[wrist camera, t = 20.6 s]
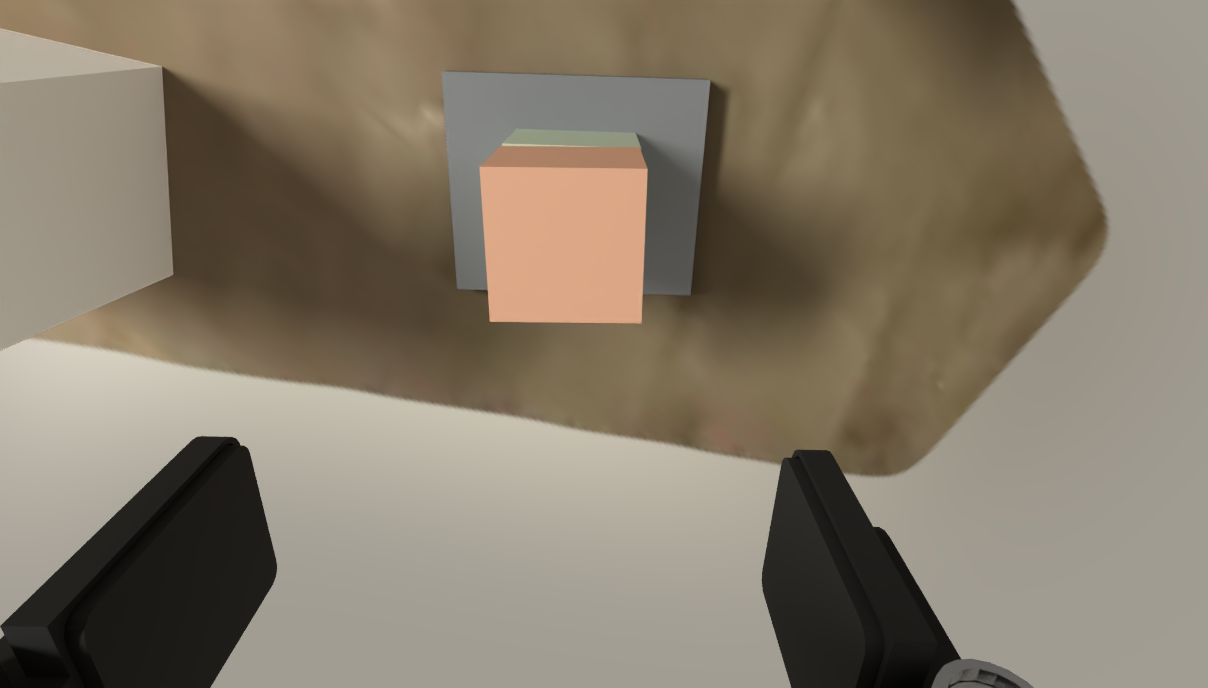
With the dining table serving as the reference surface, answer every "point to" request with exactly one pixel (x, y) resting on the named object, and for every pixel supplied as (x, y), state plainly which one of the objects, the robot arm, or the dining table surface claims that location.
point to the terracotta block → (564, 233)
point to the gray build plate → (582, 103)
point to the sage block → (571, 138)
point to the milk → (77, 182)
